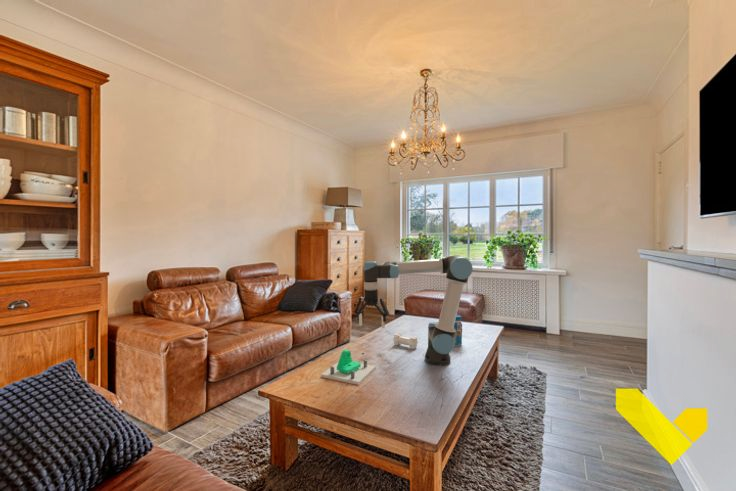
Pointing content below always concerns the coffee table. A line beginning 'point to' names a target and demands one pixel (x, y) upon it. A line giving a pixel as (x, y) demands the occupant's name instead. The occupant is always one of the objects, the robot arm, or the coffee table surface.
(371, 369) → the stub plate
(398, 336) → the dog bone
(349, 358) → the camera mount
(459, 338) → the beverage bottle
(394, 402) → the coffee table surface
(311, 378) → the coffee table surface
